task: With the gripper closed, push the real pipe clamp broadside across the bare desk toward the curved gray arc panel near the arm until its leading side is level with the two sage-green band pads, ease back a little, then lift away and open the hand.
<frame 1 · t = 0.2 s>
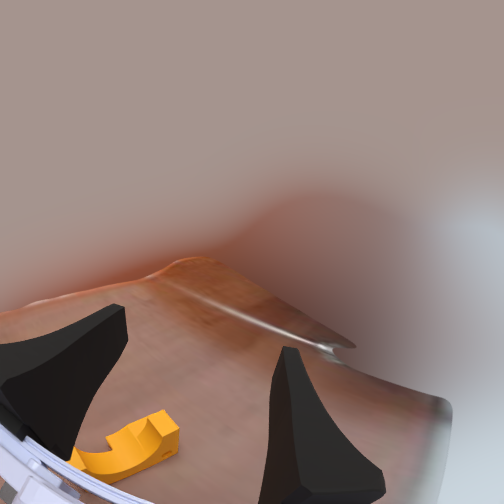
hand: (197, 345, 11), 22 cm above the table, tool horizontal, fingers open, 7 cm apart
pipe clamp: (122, 460, 20), on the table
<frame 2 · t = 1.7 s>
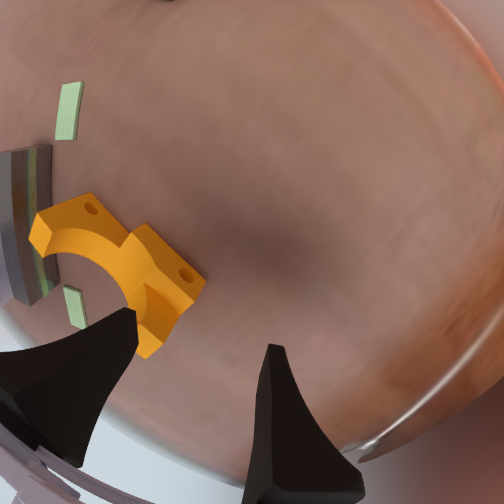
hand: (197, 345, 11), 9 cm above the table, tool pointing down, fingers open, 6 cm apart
band pad 1: (76, 307, 24), on the table
curved gray arc panel: (43, 217, 21), on the table
band pad 2: (69, 111, 17), on the table
pipe clamp: (137, 243, 21), on the table
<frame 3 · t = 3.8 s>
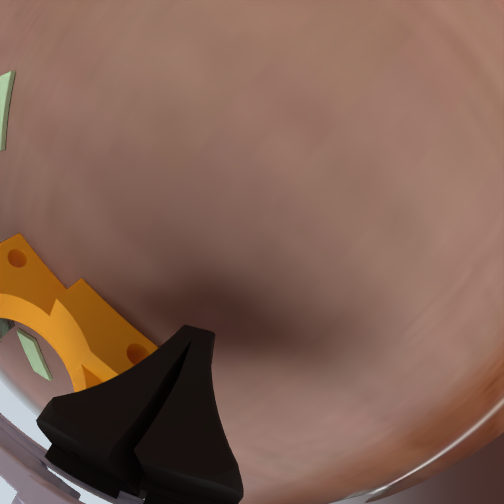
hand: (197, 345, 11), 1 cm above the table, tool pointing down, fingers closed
band pad 1: (35, 354, 17), on the table
band pad 2: (0, 112, 9), on the table
pipe clamp: (79, 301, 14), on the table
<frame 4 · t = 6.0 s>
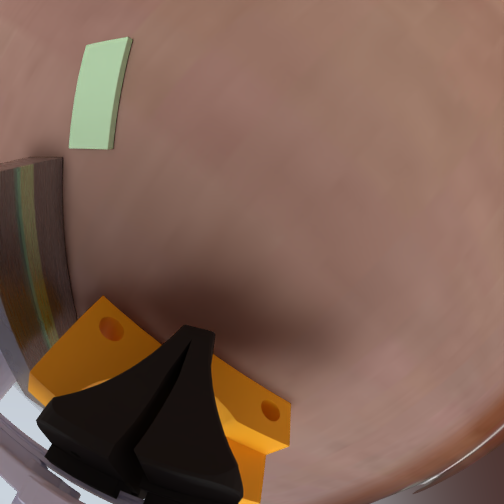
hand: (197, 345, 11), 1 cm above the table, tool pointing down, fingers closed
curved gray arc panel: (53, 278, 13), on the table
band pad 2: (99, 93, 9), on the table
pipe clamp: (188, 363, 14), on the table
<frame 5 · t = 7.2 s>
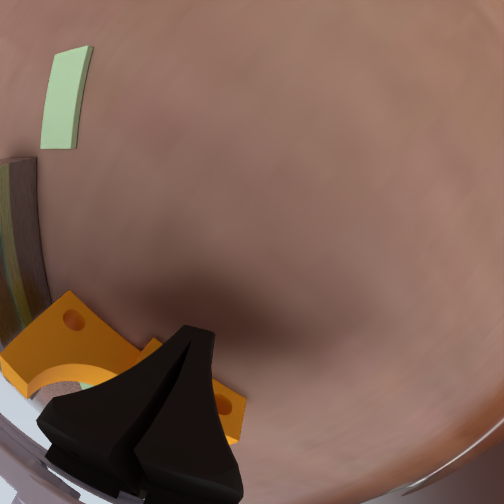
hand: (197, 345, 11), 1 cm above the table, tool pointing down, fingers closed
curved gray arc panel: (31, 269, 13), on the table
band pad 2: (65, 98, 9), on the table
pipe clamp: (146, 355, 15), on the table
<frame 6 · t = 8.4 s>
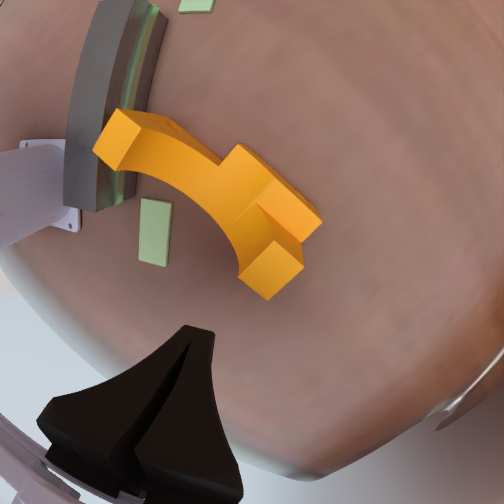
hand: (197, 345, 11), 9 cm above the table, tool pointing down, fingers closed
band pad 1: (155, 231, 20), on the table
curved gray arc panel: (130, 102, 16), on the table
pipe clamp: (228, 172, 18), on the table
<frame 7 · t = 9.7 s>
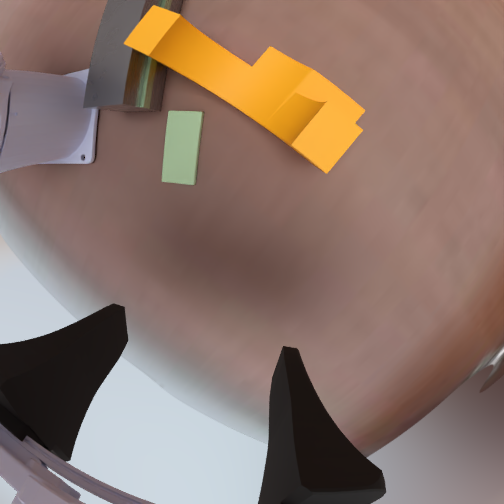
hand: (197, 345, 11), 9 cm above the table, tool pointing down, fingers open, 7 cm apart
band pad 1: (182, 147, 17), on the table
curved gray arc panel: (158, 27, 14), on the table
pipe clamp: (258, 85, 16), on the table
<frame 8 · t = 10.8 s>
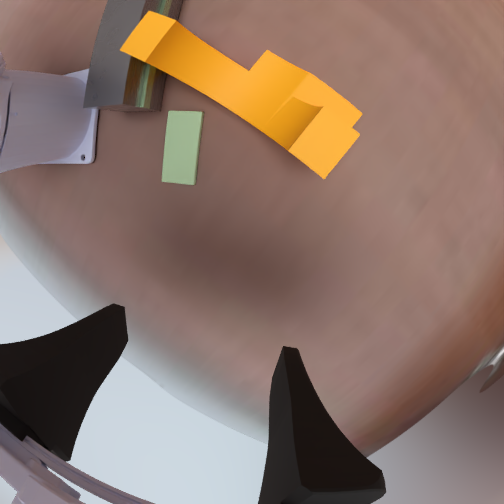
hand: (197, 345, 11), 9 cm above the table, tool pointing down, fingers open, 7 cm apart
band pad 1: (182, 147, 17), on the table
curved gray arc panel: (158, 27, 14), on the table
pipe clamp: (255, 89, 16), on the table
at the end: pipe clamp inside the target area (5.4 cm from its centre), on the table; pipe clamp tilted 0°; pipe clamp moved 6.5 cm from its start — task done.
